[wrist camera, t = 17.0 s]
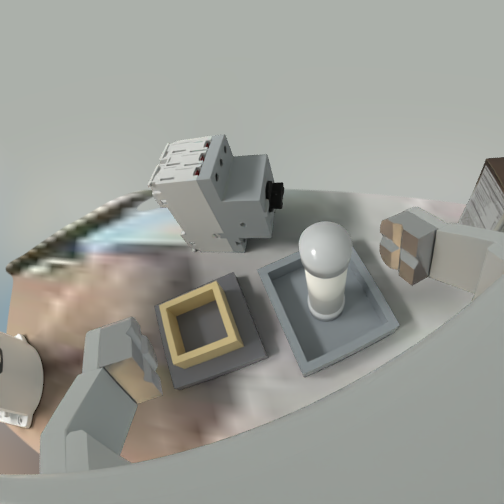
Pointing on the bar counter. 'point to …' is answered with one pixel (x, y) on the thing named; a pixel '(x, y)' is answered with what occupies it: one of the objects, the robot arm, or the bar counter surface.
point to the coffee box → (487, 198)
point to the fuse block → (208, 332)
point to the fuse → (325, 267)
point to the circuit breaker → (216, 193)
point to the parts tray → (334, 332)
